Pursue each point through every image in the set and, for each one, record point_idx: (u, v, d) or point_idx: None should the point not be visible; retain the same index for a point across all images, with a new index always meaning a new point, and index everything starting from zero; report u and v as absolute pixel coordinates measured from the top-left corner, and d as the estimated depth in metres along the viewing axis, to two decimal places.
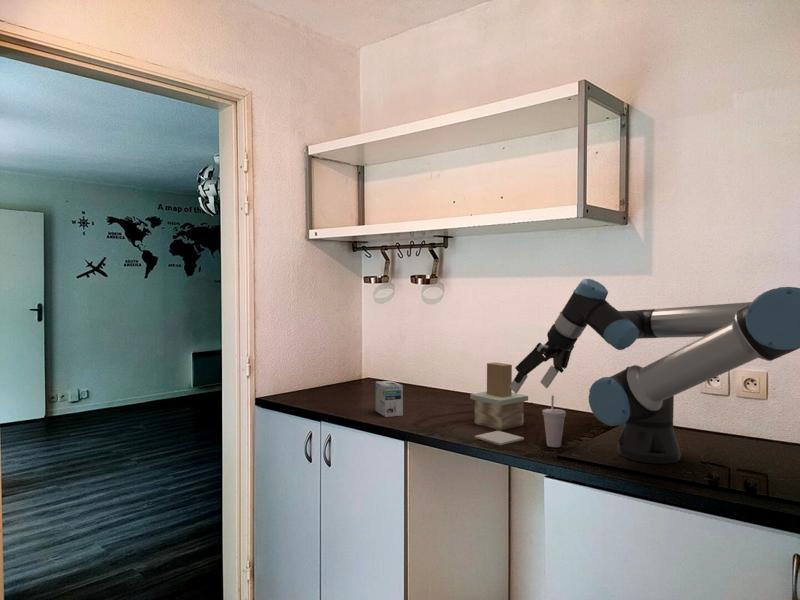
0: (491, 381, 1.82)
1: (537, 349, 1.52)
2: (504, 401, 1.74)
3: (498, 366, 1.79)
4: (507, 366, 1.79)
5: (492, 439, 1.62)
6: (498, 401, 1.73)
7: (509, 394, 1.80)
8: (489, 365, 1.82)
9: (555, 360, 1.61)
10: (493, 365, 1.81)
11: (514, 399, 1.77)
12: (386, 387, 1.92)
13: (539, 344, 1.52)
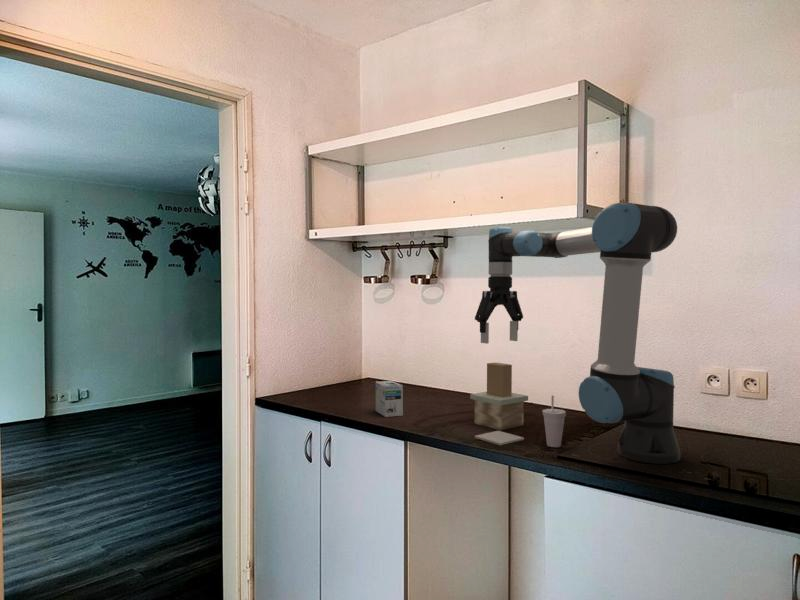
0: (491, 381, 1.82)
1: (484, 296, 1.77)
2: (504, 401, 1.74)
3: (498, 366, 1.79)
4: (507, 366, 1.79)
5: (492, 439, 1.62)
6: (498, 401, 1.73)
7: (509, 394, 1.80)
8: (489, 365, 1.82)
9: (509, 311, 1.84)
10: (493, 365, 1.81)
11: (514, 399, 1.77)
12: (386, 387, 1.92)
13: (483, 291, 1.78)
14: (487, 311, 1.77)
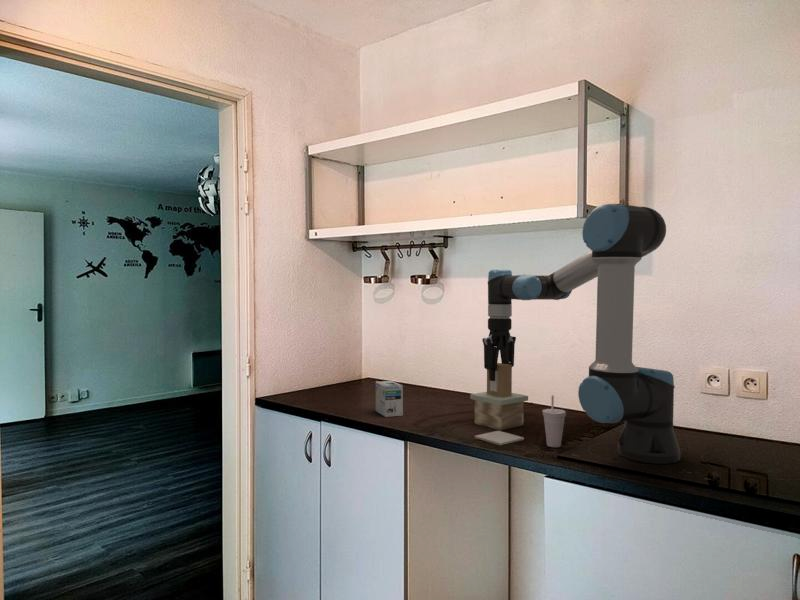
0: None
1: (485, 344, 1.78)
2: (504, 401, 1.74)
3: (498, 366, 1.79)
4: (507, 366, 1.79)
5: (492, 439, 1.62)
6: (498, 401, 1.73)
7: (509, 394, 1.80)
8: None
9: (503, 355, 1.83)
10: None
11: (514, 399, 1.77)
12: (386, 387, 1.92)
13: (483, 339, 1.78)
14: (493, 358, 1.79)
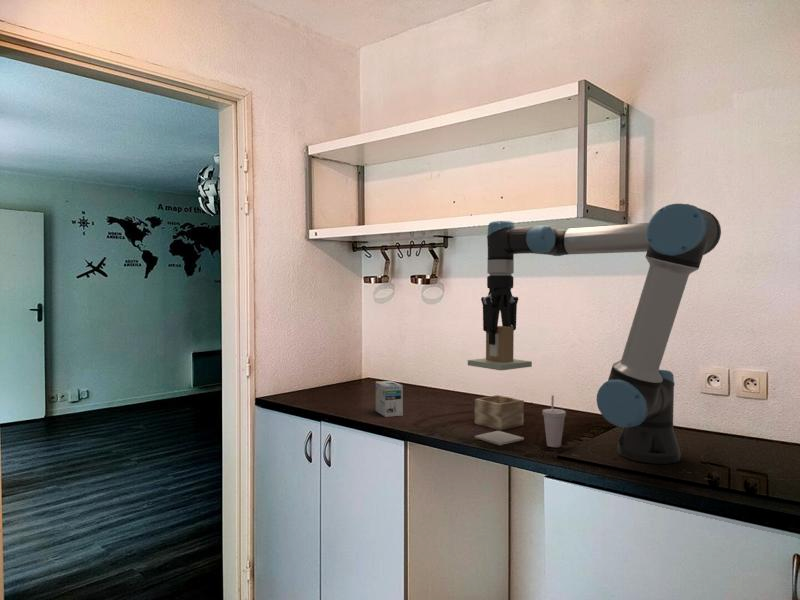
0: None
1: (484, 303, 1.60)
2: (505, 366, 1.56)
3: (498, 328, 1.62)
4: (508, 328, 1.61)
5: (492, 439, 1.62)
6: (498, 366, 1.56)
7: (511, 359, 1.62)
8: None
9: (504, 317, 1.65)
10: None
11: (516, 364, 1.59)
12: (386, 387, 1.92)
13: (482, 298, 1.60)
14: (493, 320, 1.62)
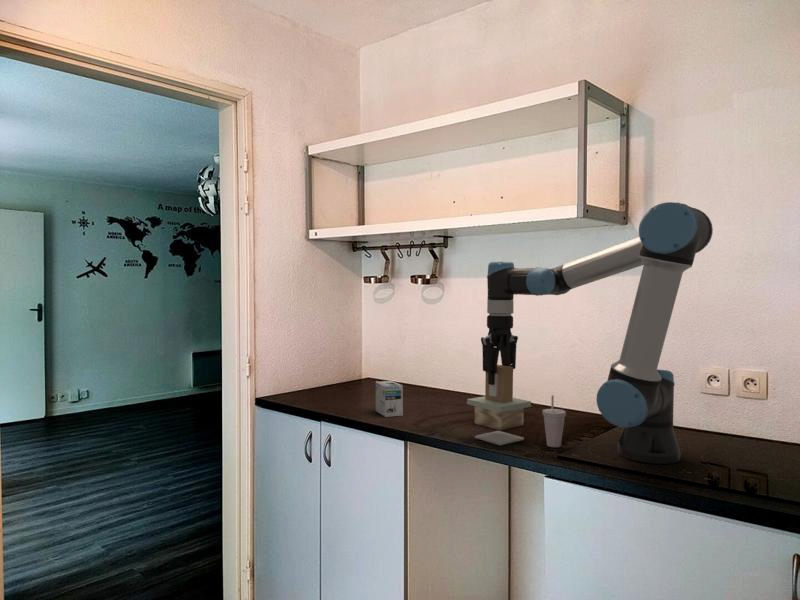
0: None
1: (484, 344, 1.61)
2: (504, 407, 1.57)
3: (498, 368, 1.62)
4: (508, 368, 1.62)
5: (492, 439, 1.62)
6: (498, 407, 1.56)
7: (510, 399, 1.62)
8: None
9: (503, 356, 1.65)
10: None
11: (515, 405, 1.59)
12: (386, 387, 1.92)
13: (482, 339, 1.61)
14: (493, 360, 1.62)
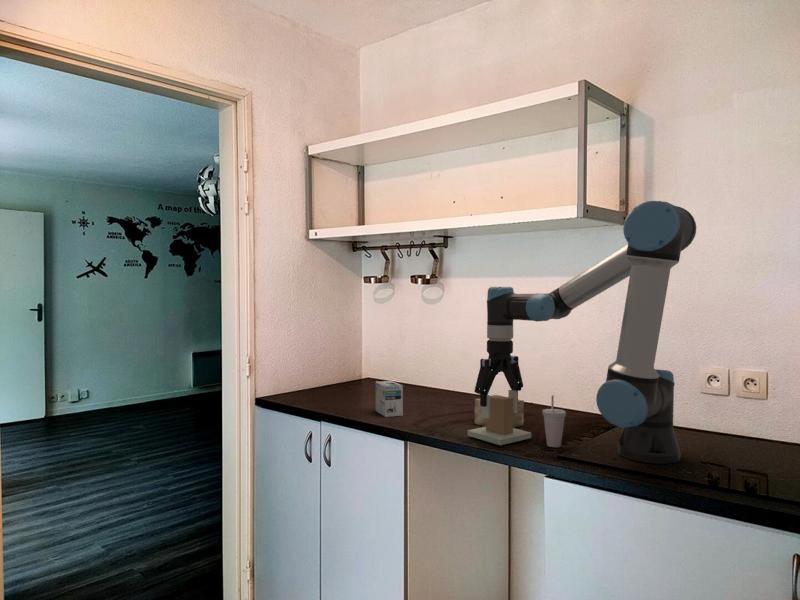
0: (491, 416, 1.64)
1: (482, 365, 1.60)
2: (505, 440, 1.57)
3: (498, 400, 1.62)
4: (508, 400, 1.62)
5: None
6: (498, 440, 1.56)
7: (510, 431, 1.62)
8: None
9: (508, 378, 1.67)
10: (493, 399, 1.64)
11: (516, 437, 1.59)
12: (386, 387, 1.92)
13: (481, 360, 1.61)
14: (487, 382, 1.61)
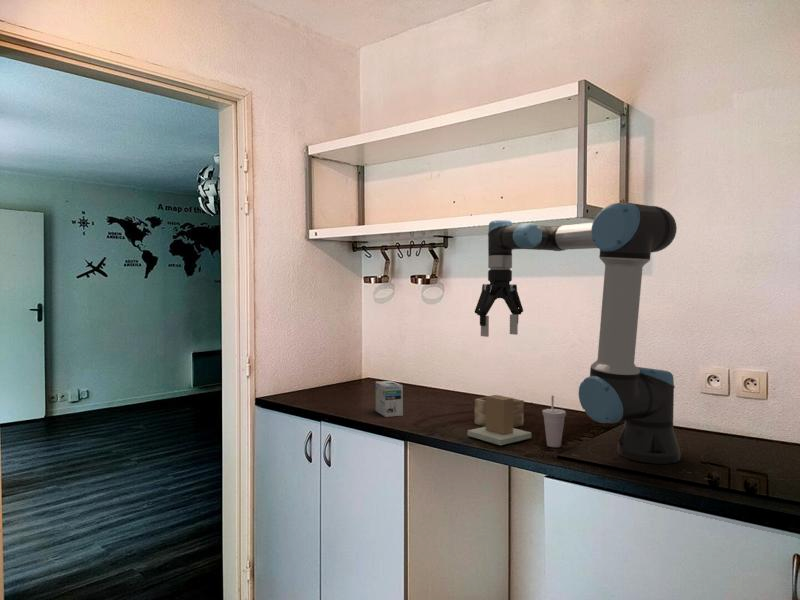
0: (491, 416, 1.64)
1: (484, 289, 1.77)
2: (505, 440, 1.57)
3: (498, 400, 1.62)
4: (508, 400, 1.62)
5: None
6: (498, 440, 1.56)
7: (510, 431, 1.62)
8: (488, 398, 1.65)
9: (509, 304, 1.84)
10: (493, 399, 1.64)
11: (516, 437, 1.59)
12: (386, 387, 1.92)
13: (483, 284, 1.78)
14: (487, 304, 1.77)
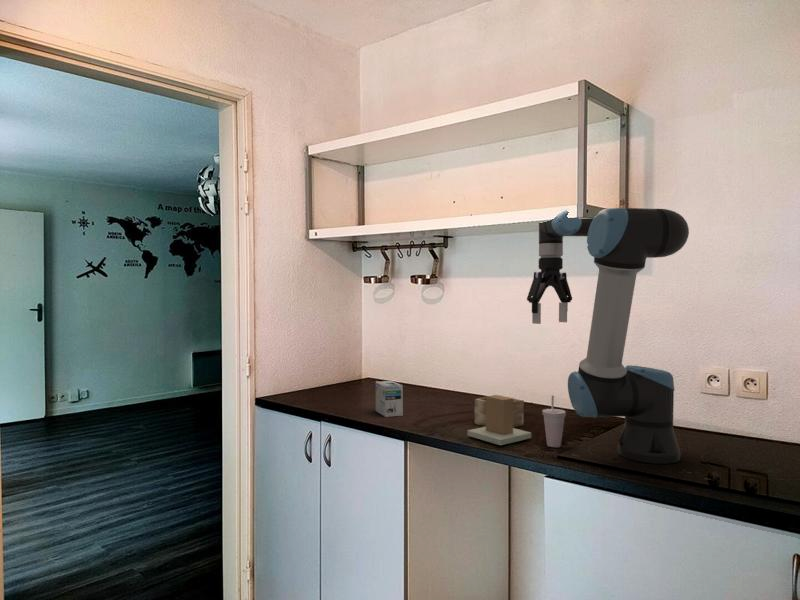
0: (491, 416, 1.64)
1: (535, 276, 1.79)
2: (505, 440, 1.57)
3: (498, 400, 1.62)
4: (508, 400, 1.62)
5: None
6: (498, 440, 1.56)
7: (510, 431, 1.62)
8: (488, 398, 1.65)
9: (558, 292, 1.86)
10: (493, 399, 1.64)
11: (516, 437, 1.59)
12: (386, 387, 1.92)
13: (535, 272, 1.79)
14: (539, 292, 1.79)
